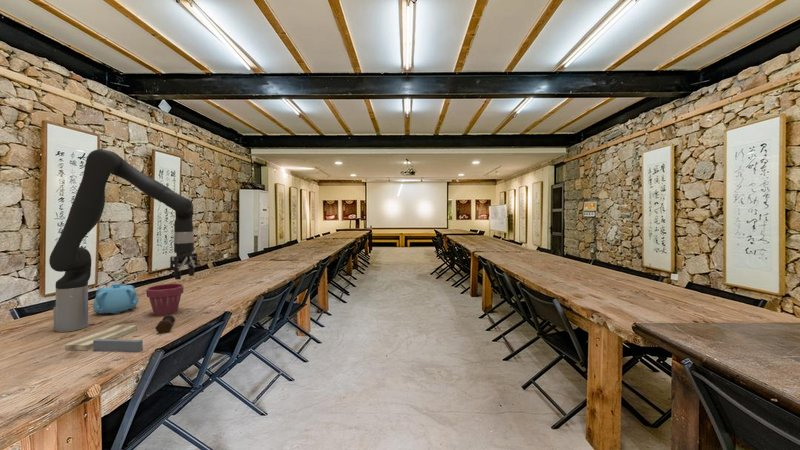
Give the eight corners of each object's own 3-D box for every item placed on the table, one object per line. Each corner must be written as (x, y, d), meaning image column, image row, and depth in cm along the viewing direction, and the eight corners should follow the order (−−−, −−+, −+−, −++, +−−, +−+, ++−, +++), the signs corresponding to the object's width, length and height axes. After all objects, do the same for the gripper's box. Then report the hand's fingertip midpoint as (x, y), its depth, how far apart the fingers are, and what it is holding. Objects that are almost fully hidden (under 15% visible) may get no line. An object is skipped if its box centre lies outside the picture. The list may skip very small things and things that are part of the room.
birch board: (65, 349, 109) (65, 344, 109) (117, 329, 129) (117, 325, 129) (87, 350, 109) (87, 345, 109) (137, 329, 129) (137, 325, 129)
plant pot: (144, 319, 143) (144, 291, 142) (148, 311, 154) (148, 285, 154) (183, 314, 150) (183, 287, 150) (183, 307, 162) (183, 282, 162)
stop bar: (93, 350, 109) (93, 340, 109) (97, 348, 111) (97, 338, 111) (138, 351, 109) (138, 341, 109) (142, 349, 110) (142, 339, 110)
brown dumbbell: (171, 326, 139) (166, 336, 126) (159, 322, 137) (152, 332, 124) (179, 314, 141) (175, 322, 128) (167, 309, 139) (161, 318, 126)
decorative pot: (137, 312, 152) (137, 284, 152) (90, 318, 142) (90, 288, 142) (138, 305, 165) (139, 279, 165) (96, 309, 155) (96, 282, 155)
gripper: (187, 240, 150) (187, 274, 151) (163, 243, 136) (164, 280, 136) (202, 240, 150) (203, 274, 150) (180, 243, 136) (181, 280, 136)
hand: (184, 277), depth 143 cm, fingers open, 8 cm apart
